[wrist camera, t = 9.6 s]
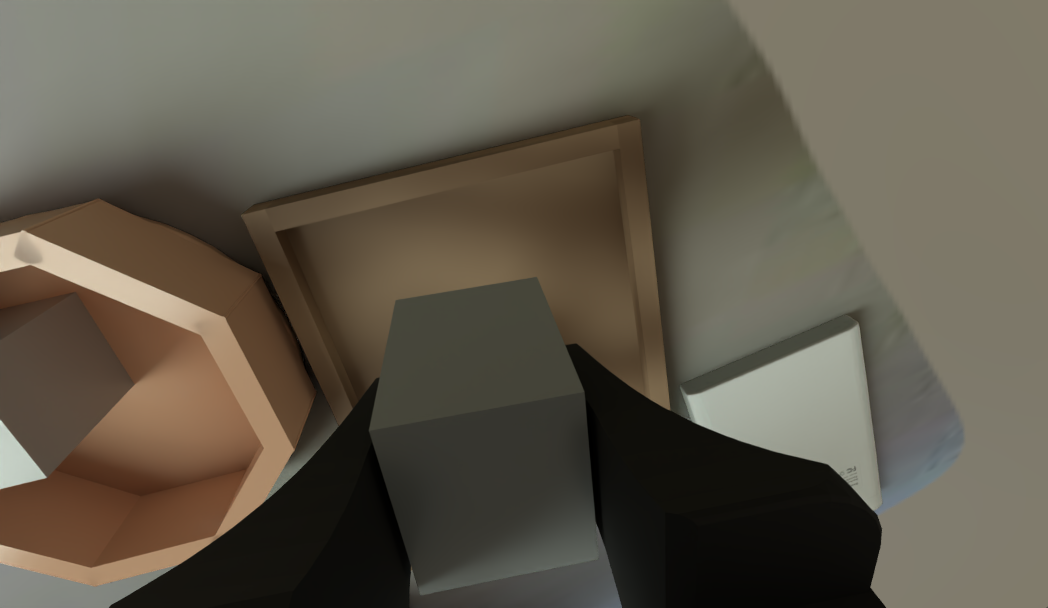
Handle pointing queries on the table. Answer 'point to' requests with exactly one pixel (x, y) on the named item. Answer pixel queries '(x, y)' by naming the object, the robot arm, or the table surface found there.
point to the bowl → (154, 395)
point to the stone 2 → (483, 437)
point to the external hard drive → (798, 402)
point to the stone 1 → (52, 384)
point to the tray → (474, 251)
